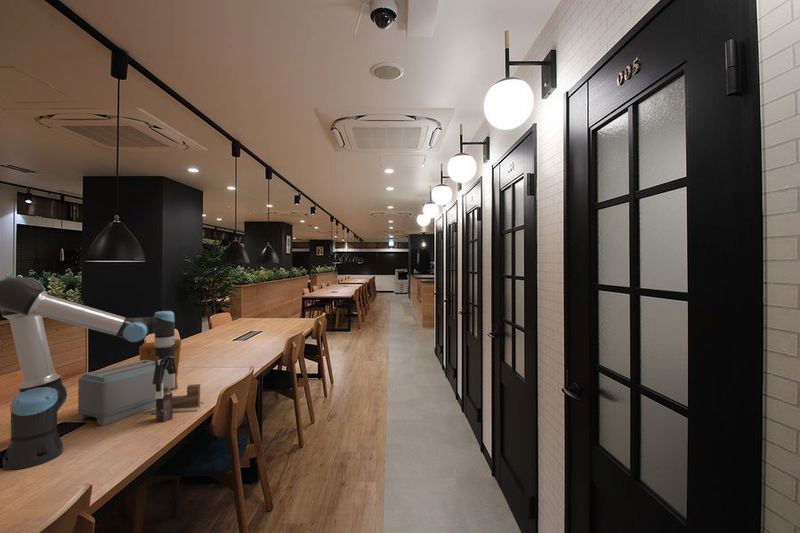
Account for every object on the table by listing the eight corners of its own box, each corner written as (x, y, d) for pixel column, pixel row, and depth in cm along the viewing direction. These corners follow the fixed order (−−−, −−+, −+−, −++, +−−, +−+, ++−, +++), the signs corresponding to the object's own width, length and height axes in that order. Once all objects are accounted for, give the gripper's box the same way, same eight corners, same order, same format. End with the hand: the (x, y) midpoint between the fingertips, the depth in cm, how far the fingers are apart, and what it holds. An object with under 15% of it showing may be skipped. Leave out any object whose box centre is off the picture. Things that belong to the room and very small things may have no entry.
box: (155, 419, 161) (155, 393, 161) (165, 416, 165) (166, 390, 165) (162, 422, 158) (162, 395, 158) (173, 419, 162) (173, 392, 162)
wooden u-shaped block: (197, 411, 171) (197, 388, 171) (151, 414, 166) (152, 391, 167) (203, 403, 181) (203, 381, 181) (160, 406, 176) (160, 384, 176)
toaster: (176, 400, 185) (176, 360, 185) (102, 427, 154) (102, 379, 154) (152, 395, 192) (152, 357, 192) (76, 419, 161) (76, 374, 161)
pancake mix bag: (181, 390, 200) (181, 339, 200) (138, 396, 190) (139, 343, 190) (180, 386, 205) (181, 337, 205) (139, 392, 195) (140, 341, 195)
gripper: (163, 351, 150) (163, 402, 151) (183, 339, 175) (184, 383, 175) (142, 352, 149) (143, 404, 149) (166, 340, 173) (166, 384, 173)
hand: (165, 393), depth 162 cm, fingers open, 13 cm apart
